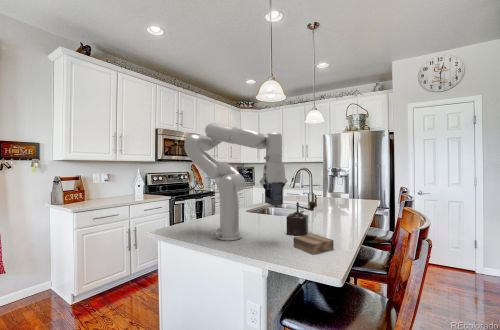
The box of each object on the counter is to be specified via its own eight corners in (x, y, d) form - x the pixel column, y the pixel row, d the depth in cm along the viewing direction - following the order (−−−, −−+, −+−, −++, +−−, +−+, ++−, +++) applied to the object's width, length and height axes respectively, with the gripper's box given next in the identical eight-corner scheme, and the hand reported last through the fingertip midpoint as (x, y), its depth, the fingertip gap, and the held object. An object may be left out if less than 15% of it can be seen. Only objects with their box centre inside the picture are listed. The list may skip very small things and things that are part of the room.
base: (313, 254, 102) (313, 244, 102) (293, 246, 112) (293, 237, 112) (333, 249, 108) (333, 240, 108) (313, 242, 118) (313, 233, 118)
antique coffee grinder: (285, 235, 131) (285, 200, 131) (289, 229, 141) (289, 197, 141) (316, 238, 125) (316, 201, 126) (318, 232, 136) (318, 199, 136)
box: (264, 203, 120) (264, 181, 120) (274, 202, 123) (275, 180, 123) (272, 205, 113) (272, 182, 113) (283, 204, 115) (283, 181, 115)
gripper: (263, 158, 110) (262, 199, 110) (293, 159, 119) (293, 197, 119) (254, 159, 117) (253, 197, 117) (283, 159, 126) (283, 195, 126)
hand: (273, 197), depth 118 cm, fingers closed on box, 6 cm apart
